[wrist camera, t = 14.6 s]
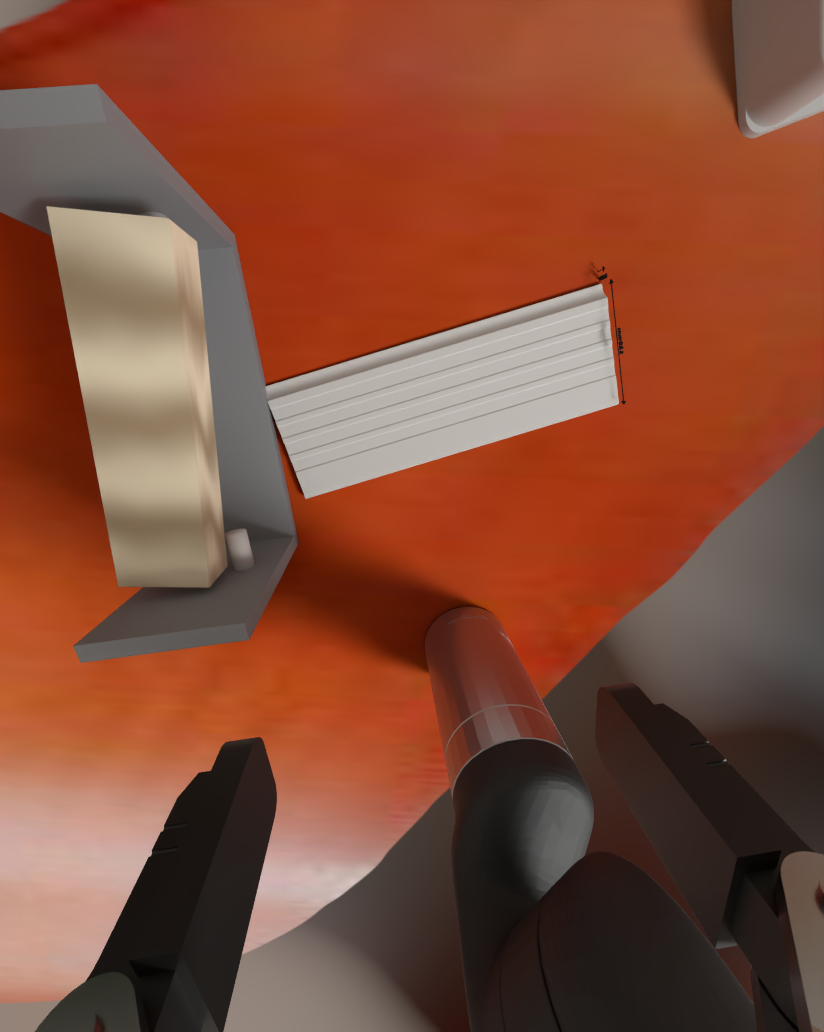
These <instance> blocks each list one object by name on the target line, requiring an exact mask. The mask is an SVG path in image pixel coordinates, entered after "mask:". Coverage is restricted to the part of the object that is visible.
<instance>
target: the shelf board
mask: <svg viewBox="0 0 824 1032" xmlns="http://www.w3.org/2000/svg"><path fill="white" fill-rule="evenodd" d="M46 207H47V212H48V218H49V223H50V228H51V234H52V239H53V244H54V249H55V255H56V260H57V265H58V271H59V276H60V281H61V286H62V292H63V297H64V302H65V308H66V313H67V318H68V323H69V329H70V334H71V339H72V344H73V350H74V355H75V360H76V366H77V371H78V376H79V381H80V387H81V392H82V397H83V403H84V408H85V413H86V418H87V424H88V429H89V434H90V439H91V445H92V450H93V455H94V461H95V466H96V471H97V476H98V482H99V487H100V492H101V498H102V503H103V508H104V513H105V519H106V524H107V529H108V535H109V540H110V545H111V550H112V556H113V561H114V566H115V571H116V577H117V582H118V587H204V588H209V587H210V586H211V585H212V584H213V583H214V582H215V580H216V579H217V578H218V577H219V576H220V575H221V573H222V572H223V571H224V570H225V569H226V567H227V555H226V545H225V534H224V523H223V513H222V502H221V491H220V481H219V470H218V459H217V449H216V438H215V427H214V417H213V406H212V395H211V385H210V374H209V364H208V353H207V342H206V332H205V321H204V310H203V300H202V289H201V278H200V268H199V257H198V246H197V241H196V240H194V239H193V238H192V237H191V236H189V235H188V234H187V233H186V232H185V231H183V230H182V229H181V228H180V227H179V226H177V225H176V224H175V223H174V222H172V221H171V220H170V219H169V218H161V217H151V216H141V215H131V214H121V213H110V212H100V211H90V210H80V209H69V208H59V207H49V206H46Z"/></svg>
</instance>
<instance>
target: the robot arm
mask: <svg viewBox="0 0 824 1032" xmlns="http://www.w3.org/2000/svg"><path fill="white" fill-rule="evenodd" d="M424 645H425V653H426V658H427V664H428V669H429V675H430V681H431V686H432V692H433V697H434V702H435V708H436V713H437V719H438V724H439V730H440V735H441V740H442V746H443V751H444V757H445V762H446V766H447V772H448V777H449V783H450V788H451V793H452V798H453V805H454V810H455V826H454V832H453V837H452V846H451V867H452V878H453V886H454V895H455V904H456V912H457V921H458V930H459V938H460V948H461V957H462V965H463V973H464V974H463V975H464V983H465V991H466V999H467V1007H468V1014H469V1021H470V1028H471V1032H824V855H822V854H818V853H815V852H814V851H813V850H812V849H811V848H810V847H809V846H807V844H805V843H804V842H803V841H802V840H801V839H800V837H799V836H798V835H797V834H796V833H795V832H794V831H793V830H792V829H791V828H790V827H789V826H788V825H787V824H786V823H785V822H784V821H783V820H782V818H781V817H780V816H779V815H778V814H777V813H776V812H775V811H774V810H773V809H772V808H771V807H770V806H769V805H768V804H767V803H766V802H765V800H764V799H763V798H762V797H761V796H760V795H759V794H758V793H757V792H756V791H755V790H754V789H753V788H752V787H751V786H750V785H749V783H747V781H746V780H745V779H744V778H743V777H742V776H741V775H740V774H739V773H738V772H737V771H736V770H735V769H734V768H733V767H732V766H731V765H728V764H727V762H726V759H725V758H724V757H723V756H722V755H721V754H720V753H719V752H718V751H717V750H716V749H715V747H714V746H710V744H709V741H708V740H707V739H706V738H705V737H704V736H703V735H702V734H701V733H700V732H699V731H698V729H697V728H696V727H695V726H694V725H693V724H692V723H691V722H690V721H689V720H688V719H686V718H685V717H683V716H682V715H680V714H679V713H677V712H675V711H674V710H672V709H671V708H669V707H668V706H666V705H665V704H656V705H654V704H653V703H652V702H651V701H650V700H649V698H648V697H647V696H646V695H645V694H644V693H643V692H642V691H641V689H640V688H639V687H638V686H636V685H635V684H633V683H627V684H621V685H614V686H608V687H601V688H600V689H599V690H598V694H597V695H598V696H597V710H596V729H595V740H596V745H597V749H598V752H599V755H600V758H601V760H602V762H603V764H604V766H605V768H606V769H607V771H608V773H609V774H610V776H611V778H612V779H613V781H614V782H615V784H616V786H617V787H618V789H619V791H620V792H621V794H622V796H623V797H624V799H625V801H626V802H627V804H628V806H629V807H630V809H631V811H632V812H633V814H634V816H635V817H636V819H637V821H638V822H639V824H640V825H641V827H642V829H643V830H644V832H645V834H646V835H647V837H648V839H649V840H650V842H651V844H652V845H653V847H654V849H655V850H656V852H657V854H658V855H659V857H660V859H661V860H662V862H663V863H664V865H665V867H666V868H667V870H668V872H669V873H670V875H671V877H672V878H673V880H674V882H675V883H676V885H677V887H678V888H679V890H680V891H681V893H682V895H683V897H684V898H685V900H686V902H687V903H688V905H689V906H690V908H691V910H692V911H693V913H694V915H695V916H696V918H697V920H698V921H699V923H700V925H701V926H702V928H703V929H704V931H705V932H706V934H707V936H708V938H709V939H710V941H711V943H712V944H713V946H714V948H715V949H719V948H724V947H729V946H735V945H739V947H740V948H741V950H742V952H743V953H744V955H745V956H746V958H747V959H748V961H749V962H750V964H751V965H752V968H751V983H752V991H753V1000H754V1004H753V1002H752V1001H751V999H750V998H749V996H748V995H747V994H746V992H745V991H744V989H743V988H742V986H741V985H740V984H739V982H738V981H737V979H736V978H735V977H734V975H733V974H732V972H731V971H730V969H729V968H728V967H727V965H726V964H725V963H724V961H723V960H722V959H721V957H720V956H719V955H718V953H717V952H716V951H715V949H714V948H713V947H712V946H711V944H710V943H709V942H708V940H707V939H706V938H705V936H704V935H703V934H702V933H701V931H700V930H699V929H698V928H697V926H696V925H695V924H694V923H693V921H692V920H691V919H690V918H689V917H688V915H687V914H686V913H685V912H684V911H683V910H682V908H681V907H680V906H679V905H678V904H677V903H676V902H675V901H674V900H673V899H672V897H670V895H669V894H668V893H667V892H666V891H665V890H664V889H663V888H662V887H661V886H660V885H659V884H658V883H657V882H655V881H654V880H653V879H652V878H651V877H650V876H649V875H648V874H647V873H645V872H644V871H643V870H642V869H640V868H639V867H638V866H637V865H635V864H634V863H632V862H631V861H628V860H627V859H625V858H623V857H621V856H619V855H616V854H614V853H610V852H606V851H596V852H593V853H589V854H587V855H586V856H584V855H585V851H586V848H587V844H588V842H589V838H590V835H591V831H592V827H593V820H594V808H593V802H592V798H591V795H590V792H589V789H588V787H587V785H586V783H585V781H584V779H583V777H582V775H581V773H580V771H579V769H578V768H577V766H576V764H575V762H574V760H573V758H572V756H571V754H570V752H569V751H568V749H567V747H566V745H565V743H564V741H563V739H562V738H561V736H560V734H559V732H558V730H557V728H556V726H555V725H554V723H553V721H552V719H551V717H550V715H549V713H548V712H547V710H546V708H545V706H544V704H543V702H542V700H541V698H540V696H539V694H538V693H537V691H536V689H535V687H534V685H533V683H532V681H531V679H530V678H529V676H528V674H527V672H526V670H525V668H524V666H523V664H522V662H521V661H520V659H519V657H518V655H517V653H516V651H515V649H514V647H513V645H512V643H511V641H510V640H509V638H508V636H507V634H506V632H505V630H504V628H503V627H502V625H501V623H500V621H499V620H498V619H497V618H496V617H495V616H494V615H493V614H492V613H490V612H488V611H487V610H484V609H481V608H477V607H460V608H456V609H452V610H450V611H448V612H446V613H444V614H443V615H441V616H440V617H438V618H437V619H436V620H435V621H434V622H433V623H432V625H431V626H430V628H429V629H428V632H427V634H426V637H425V644H424ZM276 803H277V791H276V784H275V780H274V777H273V773H272V770H271V766H270V763H269V759H268V756H267V752H266V749H265V745H264V742H263V740H262V739H261V738H260V737H257V738H250V739H243V740H237V741H230V742H226V743H225V744H224V745H223V746H222V747H221V749H220V751H219V754H218V756H217V758H216V761H215V763H214V765H213V767H212V770H211V771H207V772H201V773H198V774H197V776H196V777H195V778H194V779H193V780H192V781H191V783H190V784H189V785H188V786H187V787H186V789H185V790H184V791H183V792H182V793H181V794H180V796H179V797H178V798H177V800H176V802H175V804H174V806H173V808H172V810H171V812H170V814H169V817H168V819H167V821H166V823H165V825H164V830H163V832H161V833H160V835H159V837H158V839H157V841H156V843H155V845H154V847H153V849H152V855H151V857H148V859H147V862H146V864H145V866H144V868H143V870H142V872H141V874H140V876H139V878H138V880H137V882H136V884H135V886H134V888H133V890H132V892H131V894H130V896H129V898H128V900H127V902H126V904H125V906H124V909H123V911H122V913H121V915H120V917H119V919H118V921H117V923H116V925H115V927H114V929H113V931H112V933H111V935H110V937H109V939H108V941H107V943H106V945H105V947H104V949H103V951H102V954H101V956H100V958H99V960H98V961H97V963H96V965H95V967H94V969H93V971H92V972H91V974H90V975H89V977H88V978H87V980H86V982H84V983H83V984H81V985H80V986H78V987H77V988H76V989H74V990H73V991H72V992H70V993H69V994H68V995H67V996H66V997H65V998H64V999H63V1000H61V1001H60V1002H59V1004H58V1005H57V1006H56V1007H55V1008H54V1009H53V1010H52V1011H51V1012H50V1013H49V1014H48V1016H47V1017H46V1018H45V1019H44V1020H43V1022H42V1023H41V1024H40V1025H39V1026H38V1028H37V1029H36V1031H35V1032H223V1030H224V1026H225V1022H226V1018H227V1013H228V1009H229V1005H230V1001H231V997H232V993H233V989H234V984H235V980H236V976H237V972H238V968H239V964H240V959H241V955H242V951H243V947H244V943H245V939H246V934H247V930H248V926H249V922H250V918H251V914H252V909H253V905H254V901H255V897H256V893H257V889H258V884H259V880H260V876H261V872H262V868H263V864H264V859H265V855H266V851H267V847H268V843H269V839H270V834H271V830H272V826H273V822H274V818H275V812H276Z"/></svg>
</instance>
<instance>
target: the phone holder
mask: <svg viewBox="0 0 824 1032" xmlns="http://www.w3.org/2000/svg"><path fill="white" fill-rule="evenodd" d="M732 23H733V39H734V56H735V73H736V89H737V106H738V122H739V128H740V131H741V132H742V134H743V135H744V136H746V137H748V138H755V137H758V136H761V135H763V134H766V133H768V132H771V131H774V130H776V129H779V128H781V127H784V126H787V125H789V124H792V123H794V122H797V121H799V120H802V119H805V118H807V117H810V116H812V115H815V114H817V113H820V112H823V111H824V0H732Z"/></svg>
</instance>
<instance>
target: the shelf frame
mask: <svg viewBox="0 0 824 1032" xmlns="http://www.w3.org/2000/svg"><path fill="white" fill-rule="evenodd" d="M46 206H49V207H59V208H69V209H80V210H90V211H100V212H110V213H121V214H131V215H141V216H151V217H161V218H169V219H170V220H171V221H172V222H174V223H175V224H176V225H177V226H179V227H180V228H181V229H182V230H183V231H185V232H186V233H187V234H188V235H189V236H191V237H192V238H193V239H194V240H196V241H197V246H198V257H199V268H200V278H201V289H202V300H203V310H204V321H205V332H206V342H207V353H208V364H209V374H210V385H211V395H212V406H213V417H214V427H215V438H216V449H217V459H218V470H219V481H220V491H221V502H222V513H223V523H224V534H225V545H226V555H227V567H226V569H225V570H224V571H223V572H222V573H221V575H220V576H219V577H218V578H217V579H216V580H215V582H214V583H213V584H212V585H211V586H210V587H209V588H204V587H143V588H142V589H140V590H139V591H138V592H137V593H136V594H134V595H133V596H132V597H131V598H130V599H129V600H127V601H126V602H125V603H124V604H123V605H121V606H120V607H119V608H118V609H117V610H116V611H114V612H113V613H112V614H111V615H110V616H108V617H107V618H106V619H105V620H104V621H102V622H101V623H100V624H99V625H98V626H97V627H95V628H94V629H93V630H92V631H91V632H89V633H88V634H87V635H86V636H85V637H83V638H82V639H81V640H80V641H79V642H78V643H76V644H75V645H74V646H73V647H74V649H75V651H76V653H77V656H78V658H79V660H80V662H81V663H83V662H91V661H98V660H105V659H112V658H120V657H127V656H134V655H142V654H149V653H156V652H164V651H171V650H178V649H186V648H193V647H200V646H207V645H215V644H222V643H229V642H237V641H244V640H249V639H250V637H251V635H252V633H253V631H254V629H255V627H256V626H257V624H258V622H259V620H260V618H261V616H262V614H263V612H264V610H265V608H266V606H267V604H268V602H269V600H270V598H271V596H272V594H273V592H274V590H275V588H276V586H277V585H278V583H279V581H280V579H281V577H282V575H283V573H284V571H285V569H286V567H287V565H288V563H289V561H290V559H291V557H292V555H293V553H294V551H295V549H296V547H297V545H298V543H299V542H298V537H297V532H296V527H295V522H294V518H293V513H292V508H291V503H290V498H289V494H288V489H287V484H286V479H285V474H284V470H283V465H282V460H281V455H280V450H279V446H278V441H277V436H276V431H275V427H274V422H273V417H272V412H271V409H270V407H269V404H268V402H267V392H266V383H265V379H264V374H263V369H262V364H261V359H260V355H259V350H258V345H257V340H256V335H255V331H254V326H253V321H252V316H251V311H250V307H249V302H248V297H247V292H246V287H245V283H244V278H243V273H242V268H241V263H240V259H239V254H238V249H237V244H236V239H235V235H234V234H233V232H232V231H231V230H230V229H229V228H228V227H227V226H226V225H225V224H224V223H223V222H222V220H221V219H220V218H219V217H218V216H217V215H216V214H215V213H214V212H213V211H212V210H211V208H210V207H209V206H208V205H207V204H206V203H205V202H204V201H203V200H202V199H201V198H200V196H199V195H198V194H197V193H196V192H195V191H194V190H193V189H192V188H191V187H190V186H189V184H188V183H187V182H186V181H185V180H184V179H183V178H182V177H181V176H180V175H179V174H178V172H177V171H176V170H175V169H174V168H173V167H172V166H171V165H170V164H169V163H168V162H167V160H166V159H165V158H164V157H163V156H162V155H161V154H160V153H159V152H158V151H157V150H156V148H155V147H154V146H153V145H152V144H151V143H150V142H149V141H148V140H147V139H146V138H145V136H144V135H143V134H142V133H141V132H140V131H139V130H138V129H137V128H136V127H135V126H134V124H133V123H132V122H131V121H130V120H129V119H128V118H127V117H126V116H125V115H124V114H123V112H122V111H121V110H120V109H119V108H118V107H117V106H116V105H115V104H114V103H113V101H112V100H111V99H110V98H109V97H108V96H107V95H106V94H105V93H104V92H103V91H102V89H101V88H100V87H99V86H98V85H97V84H91V85H76V86H61V87H46V88H31V89H15V90H0V212H1V213H4V214H6V215H8V216H10V217H12V218H14V219H16V220H18V221H20V222H23V223H25V224H27V225H29V226H31V227H33V228H35V229H37V230H39V231H42V232H44V233H46V234H48V235H50V236H52V234H51V228H50V223H49V218H48V212H47V207H46Z"/></svg>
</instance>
